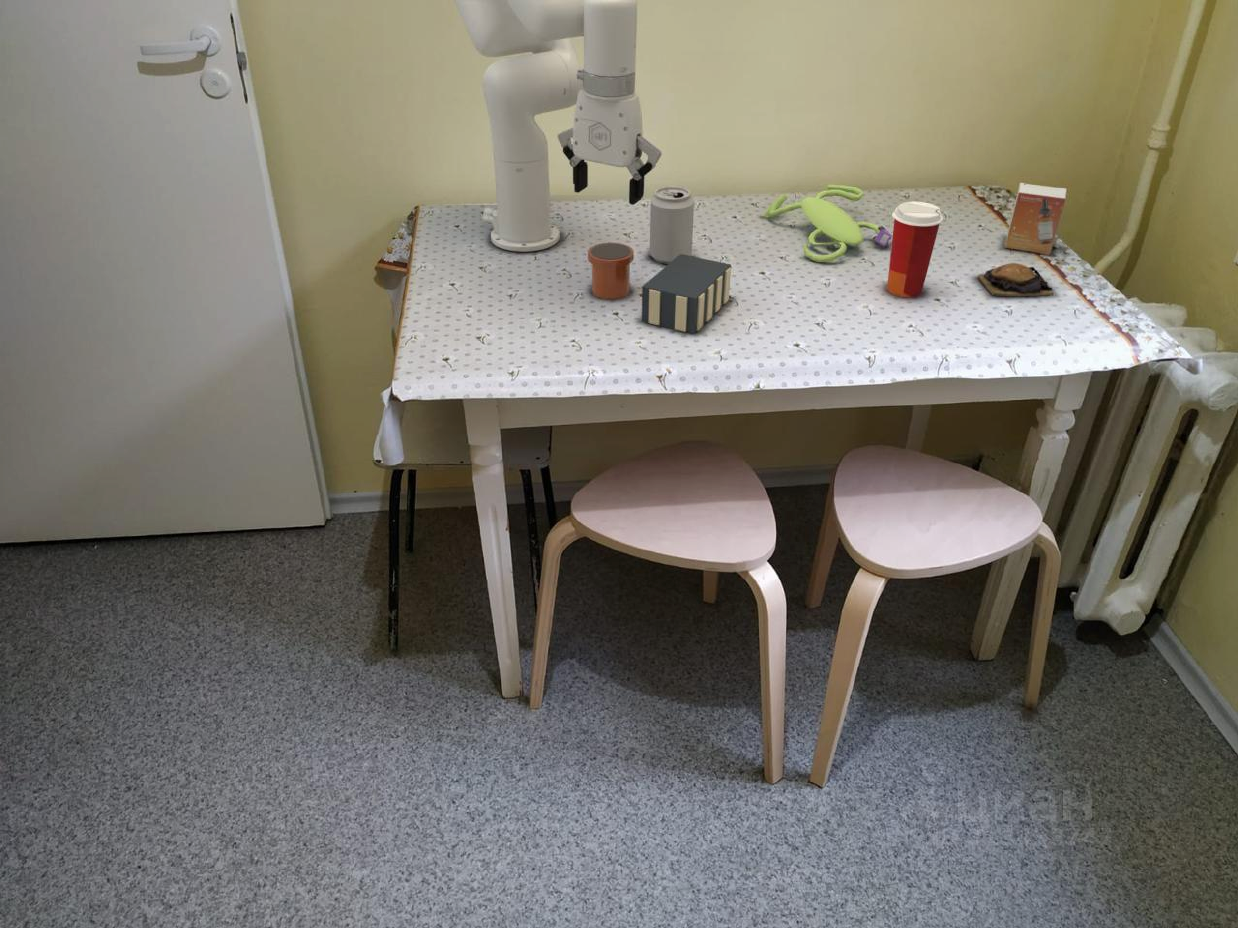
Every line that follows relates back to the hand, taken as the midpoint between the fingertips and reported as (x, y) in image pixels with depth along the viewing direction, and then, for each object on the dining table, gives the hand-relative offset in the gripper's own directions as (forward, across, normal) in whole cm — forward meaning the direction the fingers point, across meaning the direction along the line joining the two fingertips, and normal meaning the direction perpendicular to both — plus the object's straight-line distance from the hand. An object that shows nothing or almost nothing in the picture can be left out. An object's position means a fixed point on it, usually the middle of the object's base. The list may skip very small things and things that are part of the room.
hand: (607, 195), depth 155 cm
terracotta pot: (+16, +1, -1) cm, 16 cm away
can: (+16, +4, +16) cm, 24 cm away
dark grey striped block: (+16, +15, -1) cm, 22 cm away
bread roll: (+15, +60, +33) cm, 70 cm away
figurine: (+16, +25, +40) cm, 50 cm away
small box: (+15, +59, +51) cm, 80 cm away
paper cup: (+15, +44, +22) cm, 52 cm away
